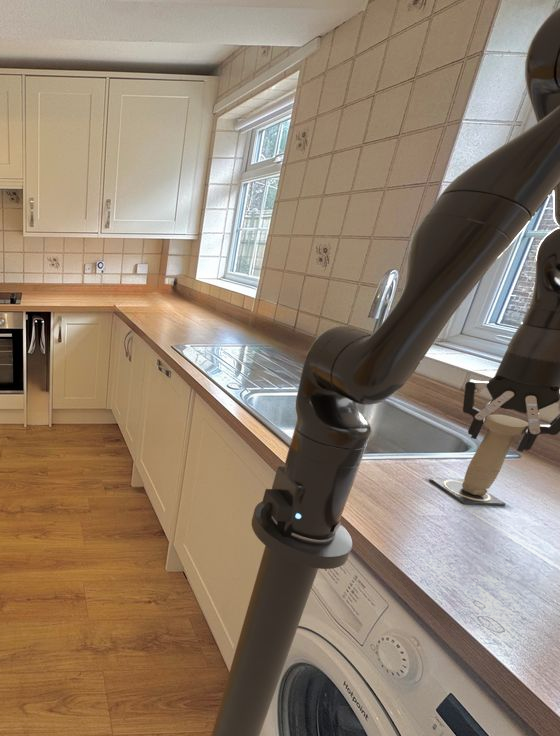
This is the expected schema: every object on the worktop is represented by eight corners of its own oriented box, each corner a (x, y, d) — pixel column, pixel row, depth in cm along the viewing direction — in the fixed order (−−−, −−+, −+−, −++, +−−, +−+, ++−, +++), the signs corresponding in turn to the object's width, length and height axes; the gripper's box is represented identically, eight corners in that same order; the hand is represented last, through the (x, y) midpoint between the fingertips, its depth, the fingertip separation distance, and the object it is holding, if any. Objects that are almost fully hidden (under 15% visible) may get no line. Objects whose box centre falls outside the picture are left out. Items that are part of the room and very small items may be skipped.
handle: (498, 495, 76) (535, 424, 71) (479, 502, 74) (516, 429, 69) (466, 481, 81) (499, 412, 75) (447, 487, 78) (479, 417, 73)
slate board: (463, 504, 75) (465, 501, 74) (428, 480, 82) (430, 477, 82) (505, 505, 75) (506, 503, 74) (466, 482, 82) (467, 479, 81)
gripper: (477, 347, 70) (439, 434, 76) (612, 369, 60) (556, 468, 66) (481, 340, 75) (446, 423, 81) (607, 360, 65) (556, 453, 71)
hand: (496, 443), depth 74 cm, fingers closed on handle, 5 cm apart
